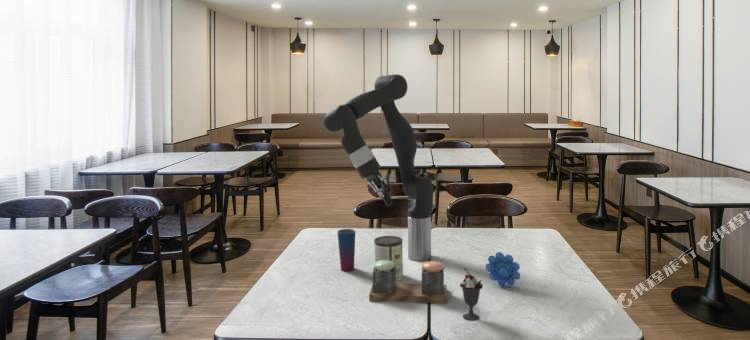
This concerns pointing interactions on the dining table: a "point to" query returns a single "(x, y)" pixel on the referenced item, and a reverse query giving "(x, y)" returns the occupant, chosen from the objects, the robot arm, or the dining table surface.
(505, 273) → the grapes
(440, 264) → the button
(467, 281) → the sundae
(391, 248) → the coffee can
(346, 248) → the cup
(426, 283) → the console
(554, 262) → the dining table surface
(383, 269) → the button
